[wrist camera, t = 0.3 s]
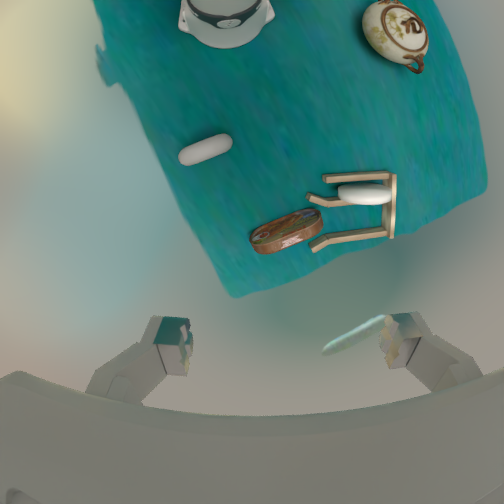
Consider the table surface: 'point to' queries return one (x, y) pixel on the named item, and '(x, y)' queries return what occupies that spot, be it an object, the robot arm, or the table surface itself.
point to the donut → (205, 149)
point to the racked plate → (365, 193)
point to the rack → (352, 235)
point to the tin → (286, 231)
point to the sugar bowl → (396, 33)
